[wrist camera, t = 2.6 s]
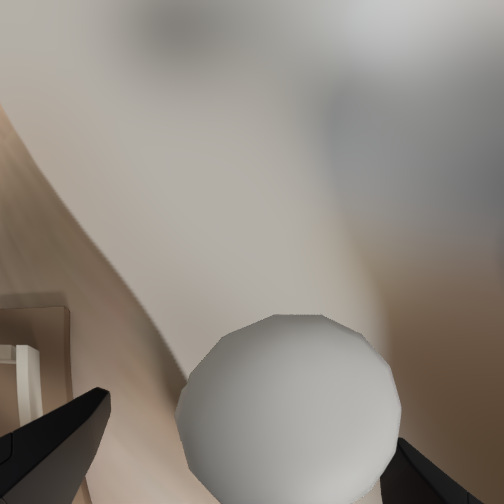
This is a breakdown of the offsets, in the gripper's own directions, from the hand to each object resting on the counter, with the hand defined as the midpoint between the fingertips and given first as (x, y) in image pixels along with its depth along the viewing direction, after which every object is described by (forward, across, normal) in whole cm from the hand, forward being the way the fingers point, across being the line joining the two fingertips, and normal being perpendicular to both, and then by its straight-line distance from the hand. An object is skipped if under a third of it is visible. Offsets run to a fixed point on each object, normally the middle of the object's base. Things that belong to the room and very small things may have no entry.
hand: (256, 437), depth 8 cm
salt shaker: (+6, 0, +6) cm, 8 cm away
